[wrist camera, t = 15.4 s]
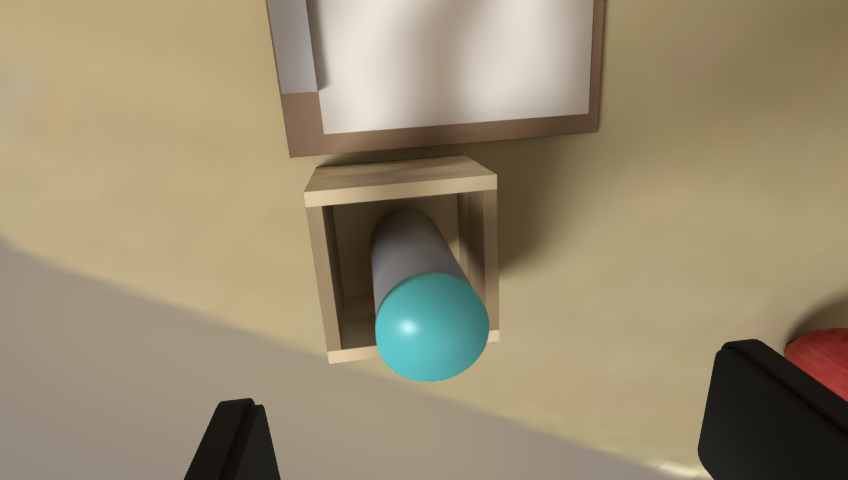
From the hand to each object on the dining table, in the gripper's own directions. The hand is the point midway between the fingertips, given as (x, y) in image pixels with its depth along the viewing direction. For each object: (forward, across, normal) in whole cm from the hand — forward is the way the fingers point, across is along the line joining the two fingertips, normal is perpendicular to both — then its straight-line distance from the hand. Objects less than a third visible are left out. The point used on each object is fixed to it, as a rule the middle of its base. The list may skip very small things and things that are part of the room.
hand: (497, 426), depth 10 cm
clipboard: (+17, -2, -9) cm, 19 cm away
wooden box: (+16, +1, +1) cm, 17 cm away
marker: (+16, +1, +1) cm, 16 cm away
